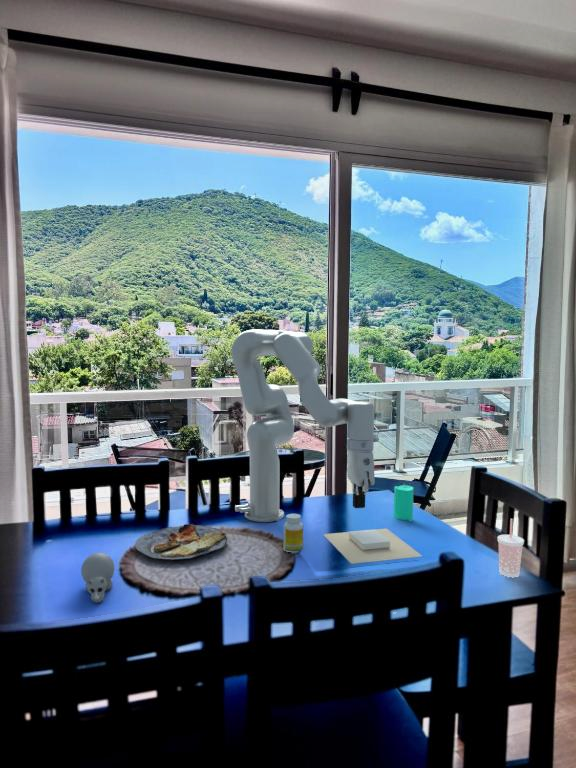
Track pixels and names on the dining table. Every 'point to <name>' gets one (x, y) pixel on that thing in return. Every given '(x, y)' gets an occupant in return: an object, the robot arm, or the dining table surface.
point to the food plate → (181, 541)
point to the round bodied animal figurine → (98, 575)
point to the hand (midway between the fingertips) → (358, 507)
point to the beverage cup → (510, 554)
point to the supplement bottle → (293, 534)
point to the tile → (369, 540)
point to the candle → (403, 502)
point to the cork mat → (356, 555)
